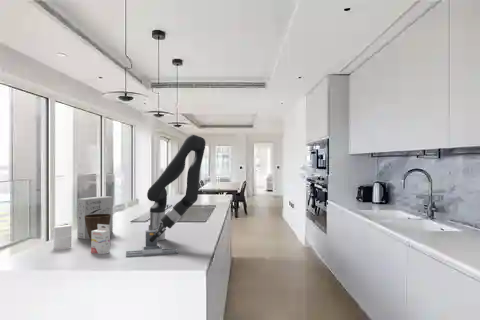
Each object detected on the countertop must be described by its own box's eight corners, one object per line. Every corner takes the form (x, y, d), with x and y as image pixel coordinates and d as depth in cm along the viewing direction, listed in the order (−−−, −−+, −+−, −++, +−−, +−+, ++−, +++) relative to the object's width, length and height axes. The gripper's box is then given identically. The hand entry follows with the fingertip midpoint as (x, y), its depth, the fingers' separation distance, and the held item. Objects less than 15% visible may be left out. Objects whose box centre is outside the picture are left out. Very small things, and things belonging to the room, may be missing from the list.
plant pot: (78, 242, 210) (78, 216, 210) (99, 238, 223) (99, 213, 223) (96, 245, 203) (96, 217, 203) (116, 240, 216) (116, 214, 216)
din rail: (175, 249, 194) (175, 244, 194) (177, 253, 185) (177, 248, 185) (126, 252, 186) (126, 247, 186) (125, 257, 178) (126, 251, 178)
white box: (68, 244, 205) (68, 224, 205) (73, 247, 198) (73, 226, 198) (51, 247, 198) (51, 226, 199) (56, 250, 192) (56, 228, 192)
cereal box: (84, 239, 220) (85, 199, 220) (77, 237, 224) (77, 198, 224) (112, 233, 239) (113, 196, 239) (105, 232, 243) (105, 196, 243)
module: (156, 247, 198) (156, 230, 198) (157, 249, 193) (157, 231, 193) (145, 248, 196) (145, 230, 196) (145, 250, 192) (145, 232, 192)
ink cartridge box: (90, 253, 186) (90, 225, 186) (97, 250, 191) (97, 223, 191) (103, 254, 183) (103, 226, 184) (110, 252, 188) (110, 224, 188)
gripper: (165, 211, 204) (144, 232, 201) (167, 215, 191) (145, 237, 187) (174, 220, 206) (154, 241, 202) (177, 224, 192) (155, 247, 189)
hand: (150, 239), depth 195 cm, fingers open, 8 cm apart
